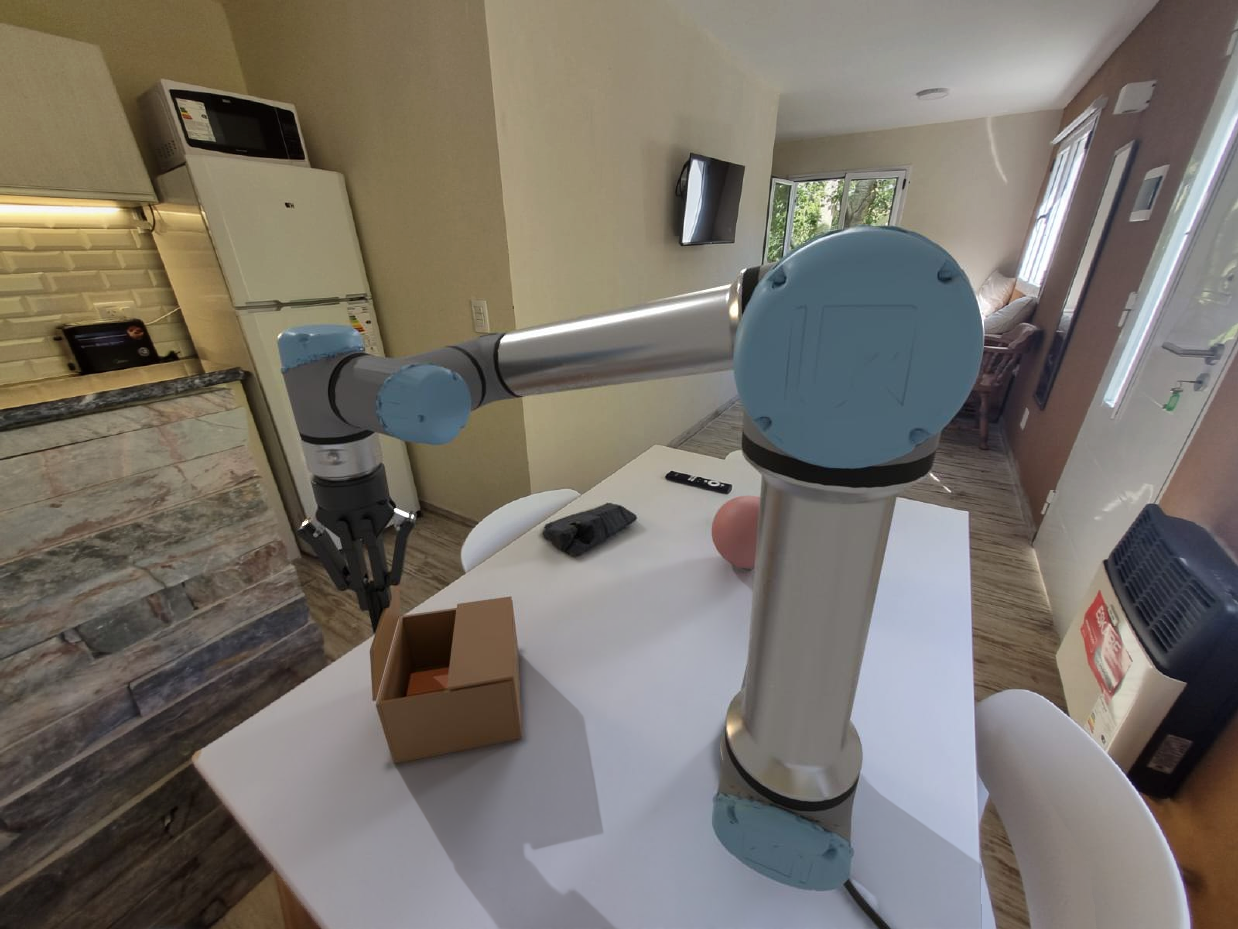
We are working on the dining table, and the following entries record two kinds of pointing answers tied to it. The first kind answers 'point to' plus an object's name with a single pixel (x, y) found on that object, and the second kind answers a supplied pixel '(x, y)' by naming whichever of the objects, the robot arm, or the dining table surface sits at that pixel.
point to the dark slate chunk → (588, 527)
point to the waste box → (453, 681)
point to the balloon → (737, 530)
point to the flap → (384, 640)
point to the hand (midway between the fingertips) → (381, 625)
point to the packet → (428, 681)
